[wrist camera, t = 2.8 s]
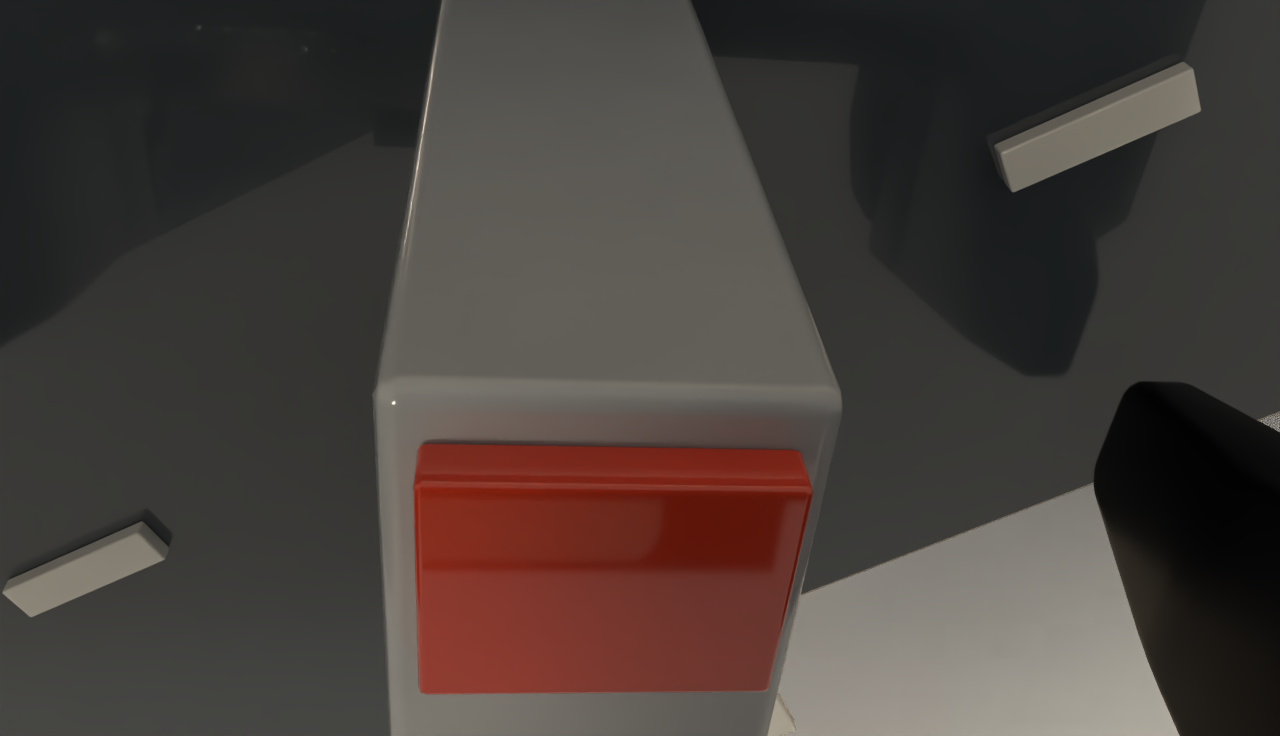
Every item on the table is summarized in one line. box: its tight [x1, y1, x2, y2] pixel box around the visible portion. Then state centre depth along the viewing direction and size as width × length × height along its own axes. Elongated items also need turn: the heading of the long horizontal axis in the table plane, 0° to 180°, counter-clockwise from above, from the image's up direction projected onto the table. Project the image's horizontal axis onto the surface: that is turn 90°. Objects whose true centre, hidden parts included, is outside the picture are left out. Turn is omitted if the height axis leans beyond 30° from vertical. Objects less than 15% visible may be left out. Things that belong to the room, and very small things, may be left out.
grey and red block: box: [372, 0, 845, 736], centre depth 7 cm, size 6×2×5 cm, turn 175°
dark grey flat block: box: [0, 0, 1280, 736], centre depth 10 cm, size 14×13×3 cm
